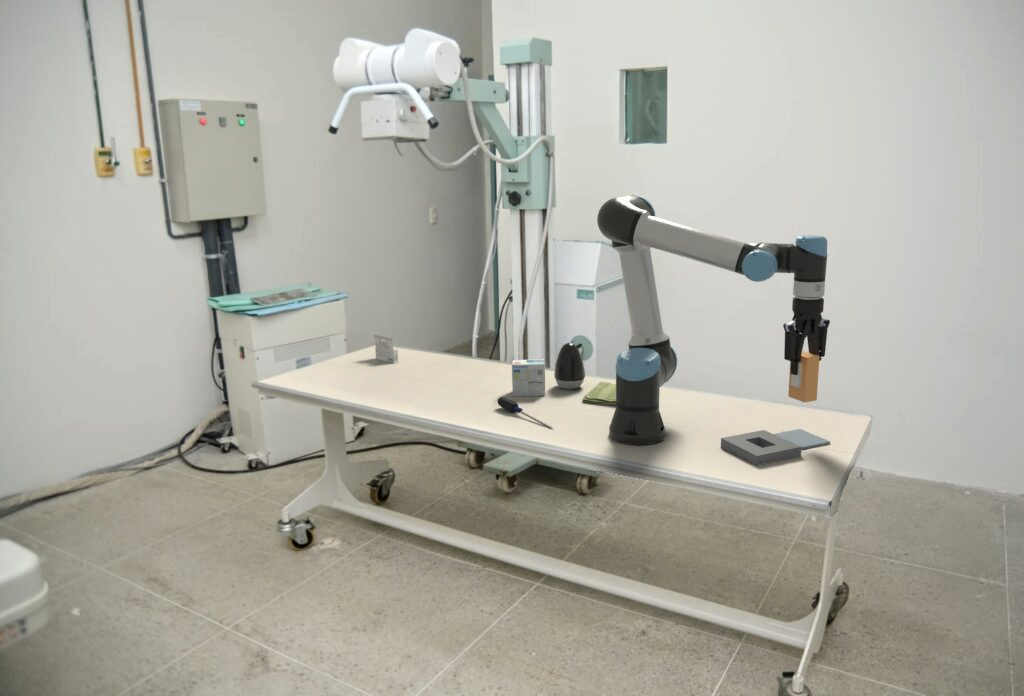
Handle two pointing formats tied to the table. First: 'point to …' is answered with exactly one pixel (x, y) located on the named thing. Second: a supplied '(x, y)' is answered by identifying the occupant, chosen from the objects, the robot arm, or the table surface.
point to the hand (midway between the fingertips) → (802, 384)
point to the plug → (806, 379)
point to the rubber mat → (803, 438)
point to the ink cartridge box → (385, 349)
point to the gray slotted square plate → (750, 450)
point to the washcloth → (602, 394)
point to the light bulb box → (528, 377)
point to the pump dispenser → (569, 367)
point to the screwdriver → (515, 408)
